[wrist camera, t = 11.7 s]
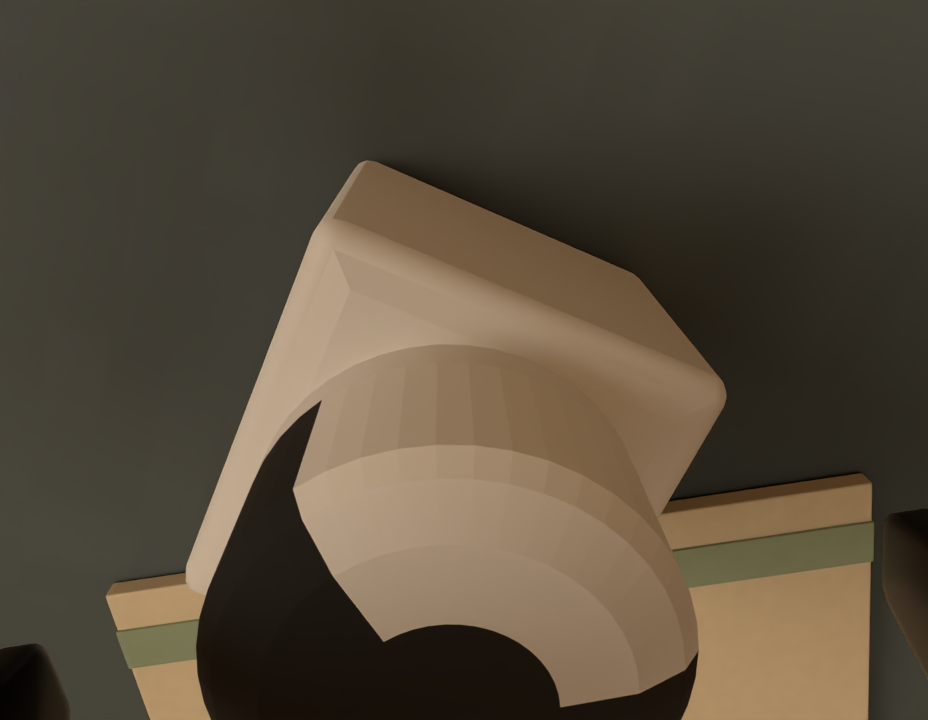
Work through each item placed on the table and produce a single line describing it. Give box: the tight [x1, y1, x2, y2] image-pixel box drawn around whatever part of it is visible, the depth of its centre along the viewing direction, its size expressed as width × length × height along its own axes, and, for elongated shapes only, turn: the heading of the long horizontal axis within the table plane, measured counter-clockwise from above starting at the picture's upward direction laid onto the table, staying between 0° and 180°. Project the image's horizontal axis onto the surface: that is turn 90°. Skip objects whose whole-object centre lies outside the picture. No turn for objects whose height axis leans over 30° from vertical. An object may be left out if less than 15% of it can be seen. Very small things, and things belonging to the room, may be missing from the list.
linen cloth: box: [106, 473, 874, 720], centre depth 24 cm, size 20×11×1 cm, turn 99°
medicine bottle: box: [186, 160, 727, 720], centre depth 15 cm, size 7×7×12 cm
